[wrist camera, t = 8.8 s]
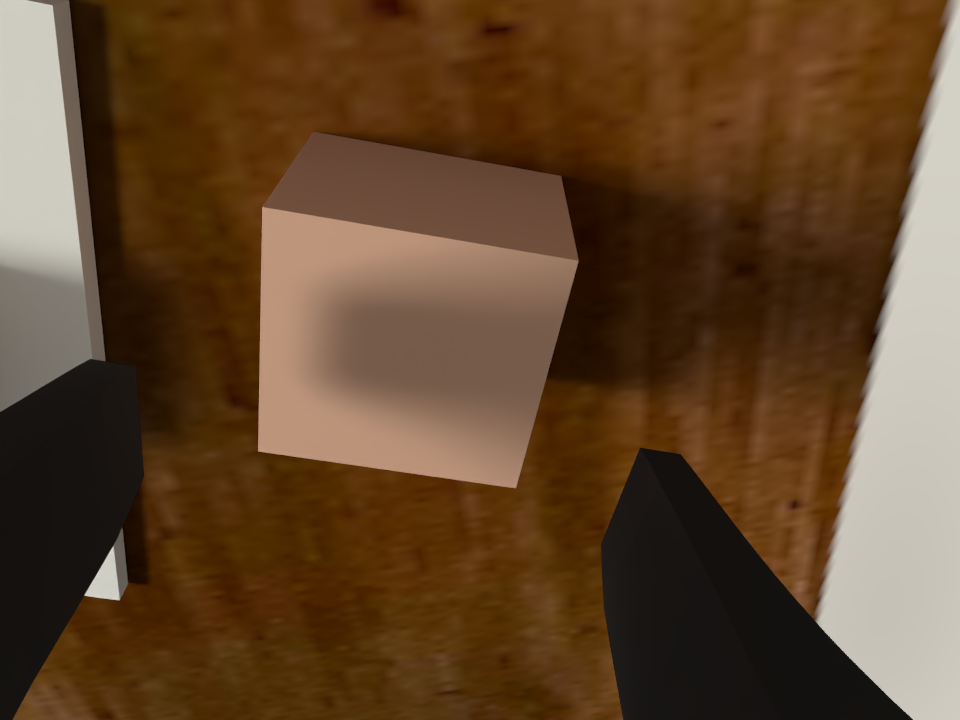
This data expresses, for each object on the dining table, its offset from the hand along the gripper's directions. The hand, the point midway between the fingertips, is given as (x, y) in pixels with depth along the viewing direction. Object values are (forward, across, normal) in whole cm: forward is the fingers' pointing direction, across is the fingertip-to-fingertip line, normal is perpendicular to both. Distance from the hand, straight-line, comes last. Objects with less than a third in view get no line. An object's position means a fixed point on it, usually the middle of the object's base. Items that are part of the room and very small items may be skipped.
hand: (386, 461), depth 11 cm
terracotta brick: (+7, 0, 0) cm, 7 cm away
